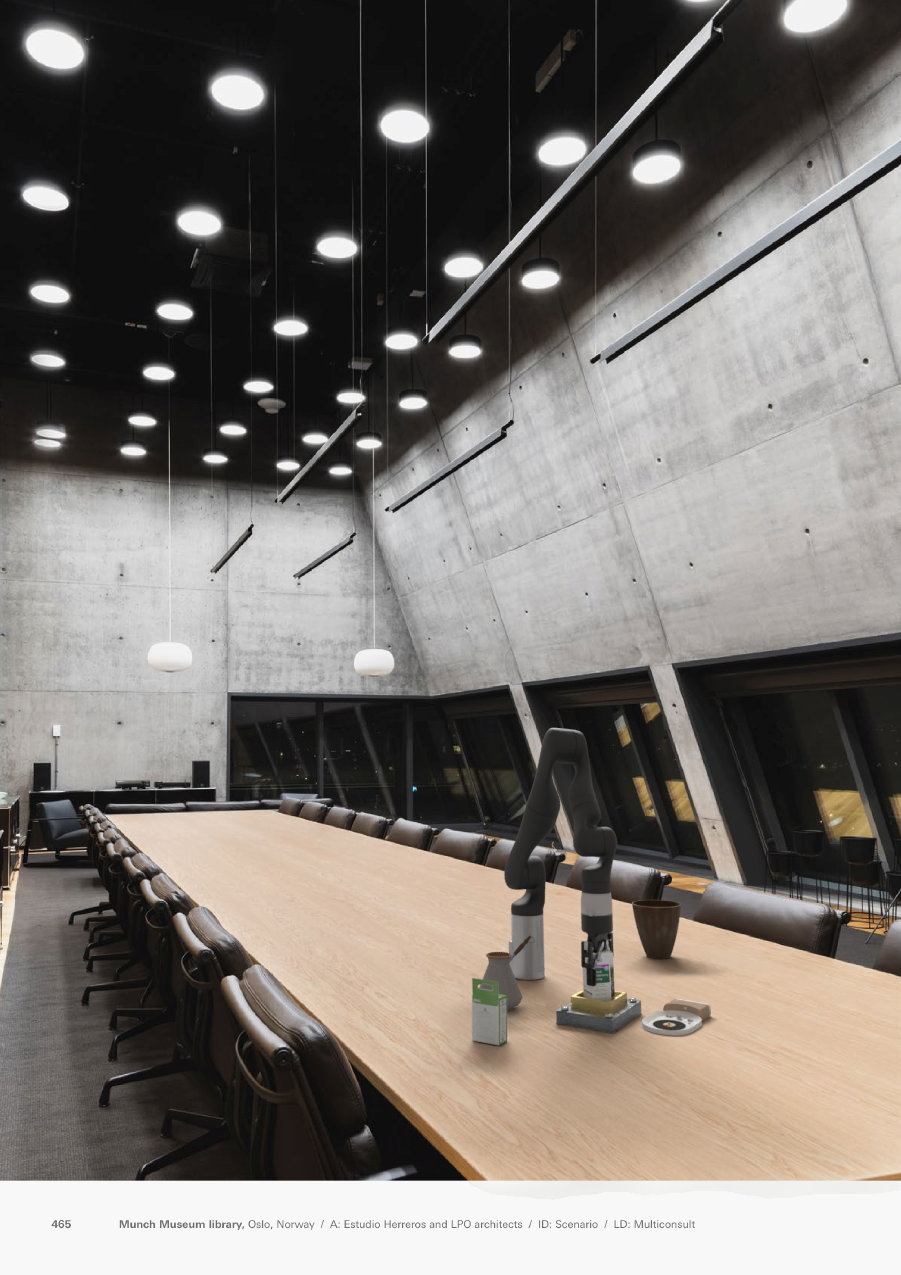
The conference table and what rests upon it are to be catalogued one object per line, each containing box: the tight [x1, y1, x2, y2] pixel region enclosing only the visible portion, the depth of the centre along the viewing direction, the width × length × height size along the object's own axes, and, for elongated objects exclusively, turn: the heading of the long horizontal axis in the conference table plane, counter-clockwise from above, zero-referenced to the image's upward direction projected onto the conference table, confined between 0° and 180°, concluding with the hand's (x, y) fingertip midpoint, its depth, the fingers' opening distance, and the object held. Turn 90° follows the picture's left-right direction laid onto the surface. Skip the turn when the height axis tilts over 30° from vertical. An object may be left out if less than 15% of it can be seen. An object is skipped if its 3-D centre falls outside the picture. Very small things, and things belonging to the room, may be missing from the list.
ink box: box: [471, 977, 508, 1046], centre depth 193 cm, size 7×4×13 cm, turn 56°
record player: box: [641, 998, 712, 1036], centre depth 205 cm, size 12×3×20 cm
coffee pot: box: [478, 936, 535, 1013], centre depth 223 cm, size 21×12×15 cm, turn 143°
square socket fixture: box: [555, 989, 642, 1035], centre depth 209 cm, size 14×18×6 cm
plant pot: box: [631, 899, 682, 960], centre depth 273 cm, size 15×15×16 cm
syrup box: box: [582, 949, 616, 1001], centre depth 210 cm, size 6×6×14 cm
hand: (598, 981), depth 210 cm, fingers closed on syrup box, 8 cm apart
